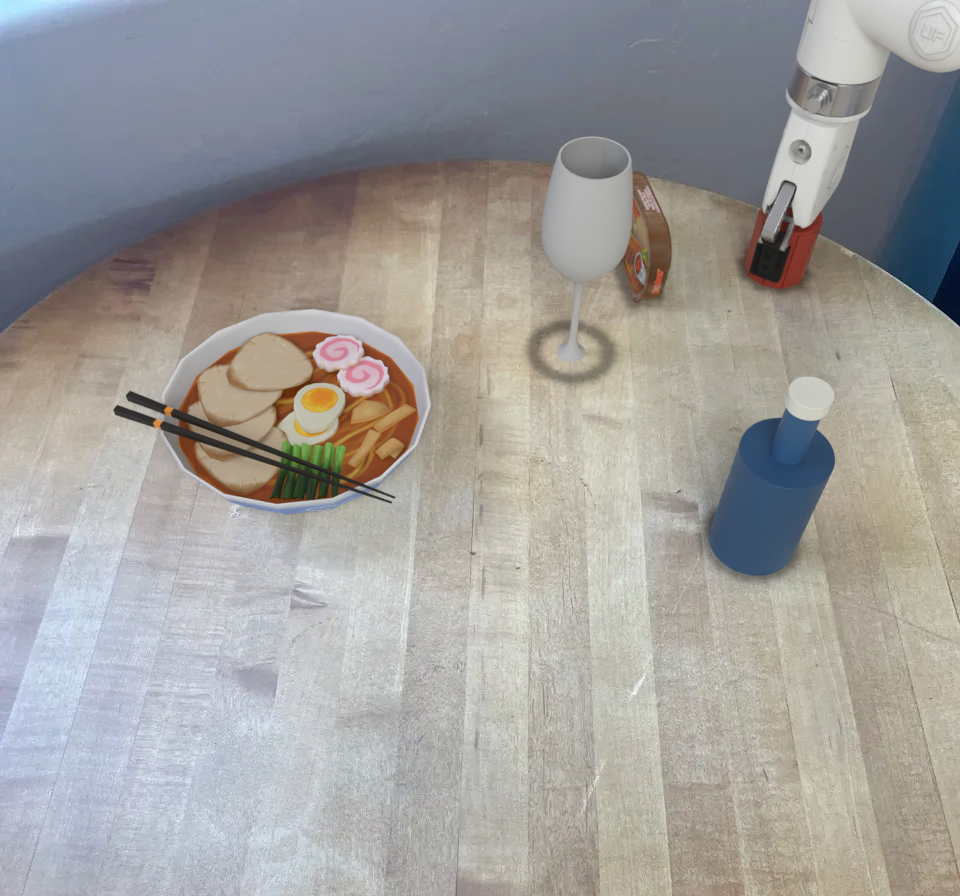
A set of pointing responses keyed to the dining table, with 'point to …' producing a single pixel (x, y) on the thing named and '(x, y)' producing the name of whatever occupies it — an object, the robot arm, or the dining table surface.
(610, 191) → the wineglass
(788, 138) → the robot arm
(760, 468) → the water bottle
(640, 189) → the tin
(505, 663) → the dining table surface
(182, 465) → the ramen bowl
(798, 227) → the red grooved cylinder
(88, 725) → the dining table surface
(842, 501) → the dining table surface
